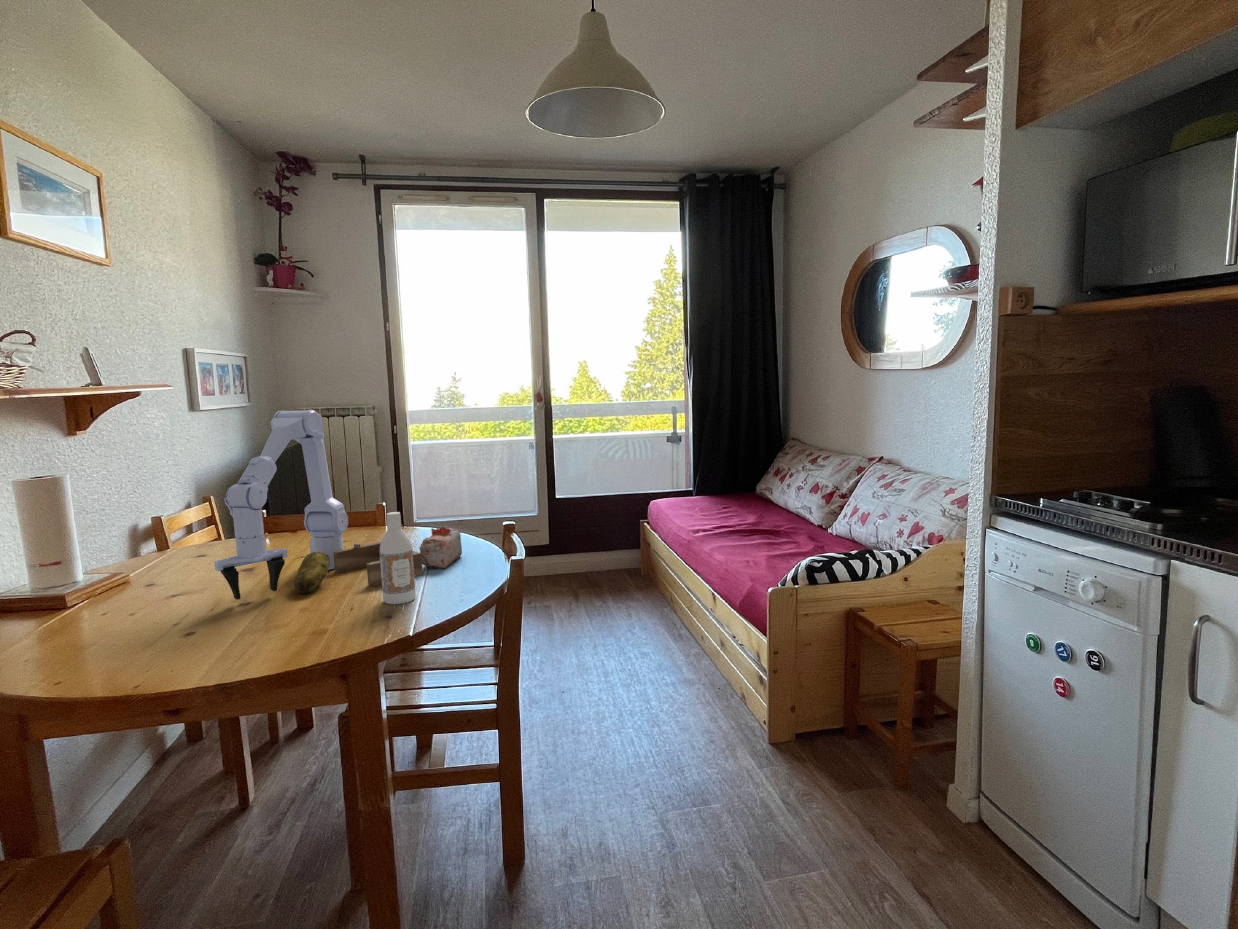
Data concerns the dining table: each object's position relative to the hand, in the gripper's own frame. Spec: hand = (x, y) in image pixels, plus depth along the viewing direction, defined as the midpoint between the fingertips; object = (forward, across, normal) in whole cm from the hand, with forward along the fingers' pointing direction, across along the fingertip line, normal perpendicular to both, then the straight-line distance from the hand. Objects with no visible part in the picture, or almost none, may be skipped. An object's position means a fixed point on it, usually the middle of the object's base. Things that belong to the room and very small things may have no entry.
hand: (255, 594), depth 148 cm
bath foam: (+2, +22, -26) cm, 34 cm away
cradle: (+2, +29, -1) cm, 29 cm away
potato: (+2, +12, 0) cm, 13 cm away
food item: (+2, +45, -6) cm, 45 cm away
